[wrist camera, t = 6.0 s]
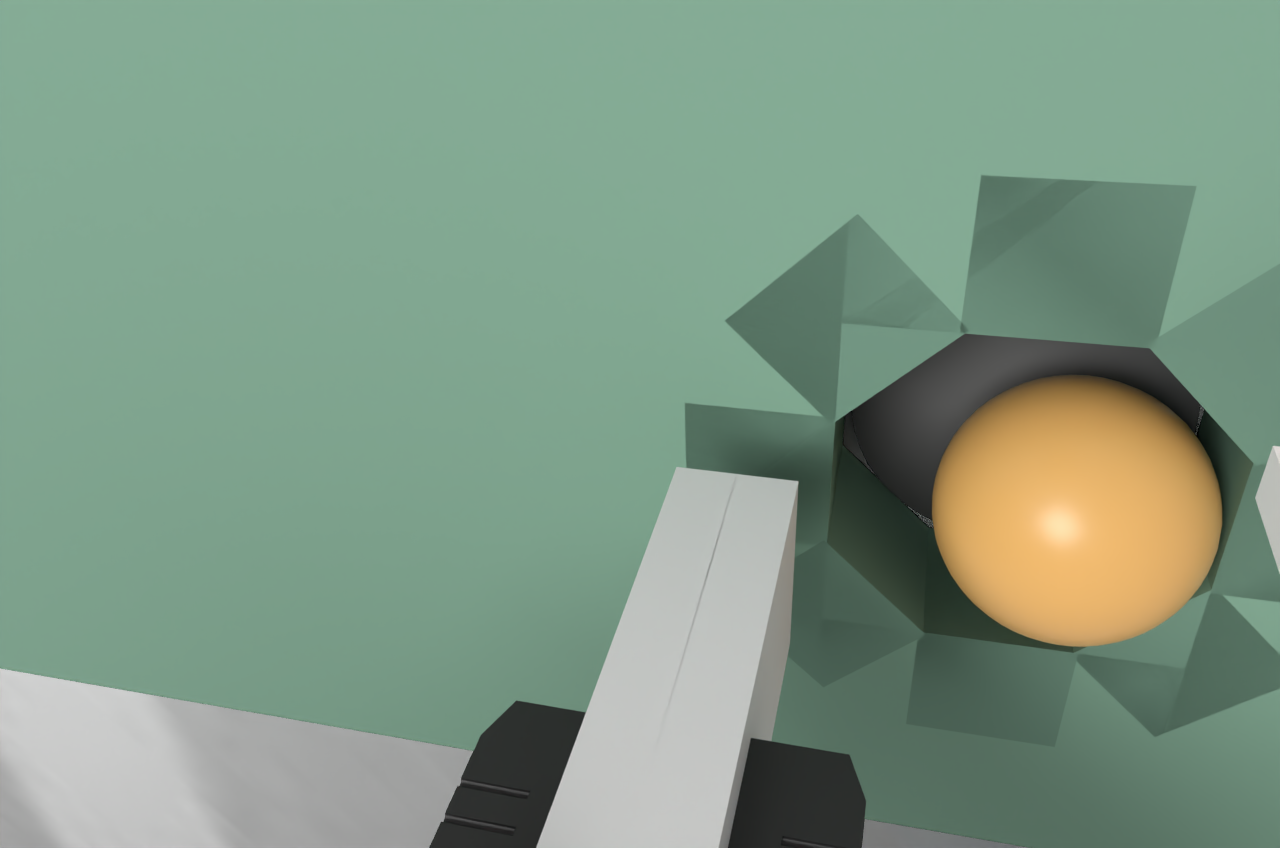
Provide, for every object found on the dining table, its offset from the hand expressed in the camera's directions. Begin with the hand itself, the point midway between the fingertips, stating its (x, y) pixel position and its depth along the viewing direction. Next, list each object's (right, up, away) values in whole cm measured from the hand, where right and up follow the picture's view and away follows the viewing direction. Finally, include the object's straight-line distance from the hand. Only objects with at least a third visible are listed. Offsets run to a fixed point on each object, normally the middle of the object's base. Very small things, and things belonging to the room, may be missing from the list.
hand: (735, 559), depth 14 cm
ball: (+5, +1, +1) cm, 5 cm away
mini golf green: (-2, +3, +4) cm, 5 cm away
